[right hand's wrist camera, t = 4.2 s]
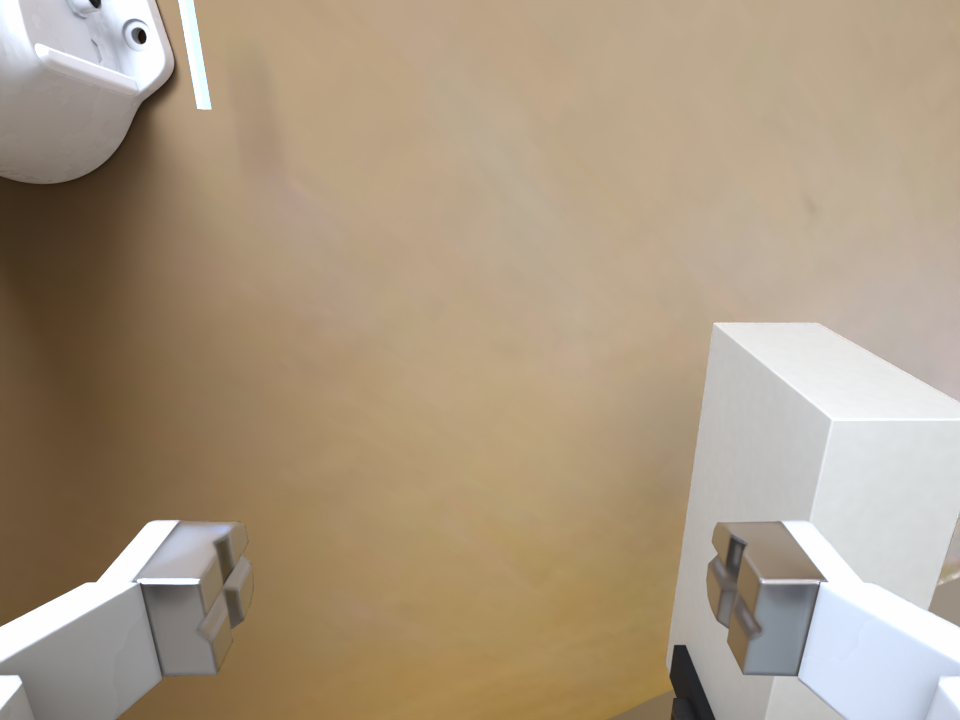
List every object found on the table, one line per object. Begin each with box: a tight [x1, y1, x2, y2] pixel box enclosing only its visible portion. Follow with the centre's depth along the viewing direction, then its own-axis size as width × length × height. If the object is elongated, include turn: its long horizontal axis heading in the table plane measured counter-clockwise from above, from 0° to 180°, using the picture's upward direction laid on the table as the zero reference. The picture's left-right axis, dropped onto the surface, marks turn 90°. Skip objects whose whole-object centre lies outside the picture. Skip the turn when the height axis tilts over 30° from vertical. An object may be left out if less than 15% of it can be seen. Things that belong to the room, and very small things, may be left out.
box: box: [666, 323, 960, 720], centre depth 33 cm, size 25×6×12 cm, turn 0°
